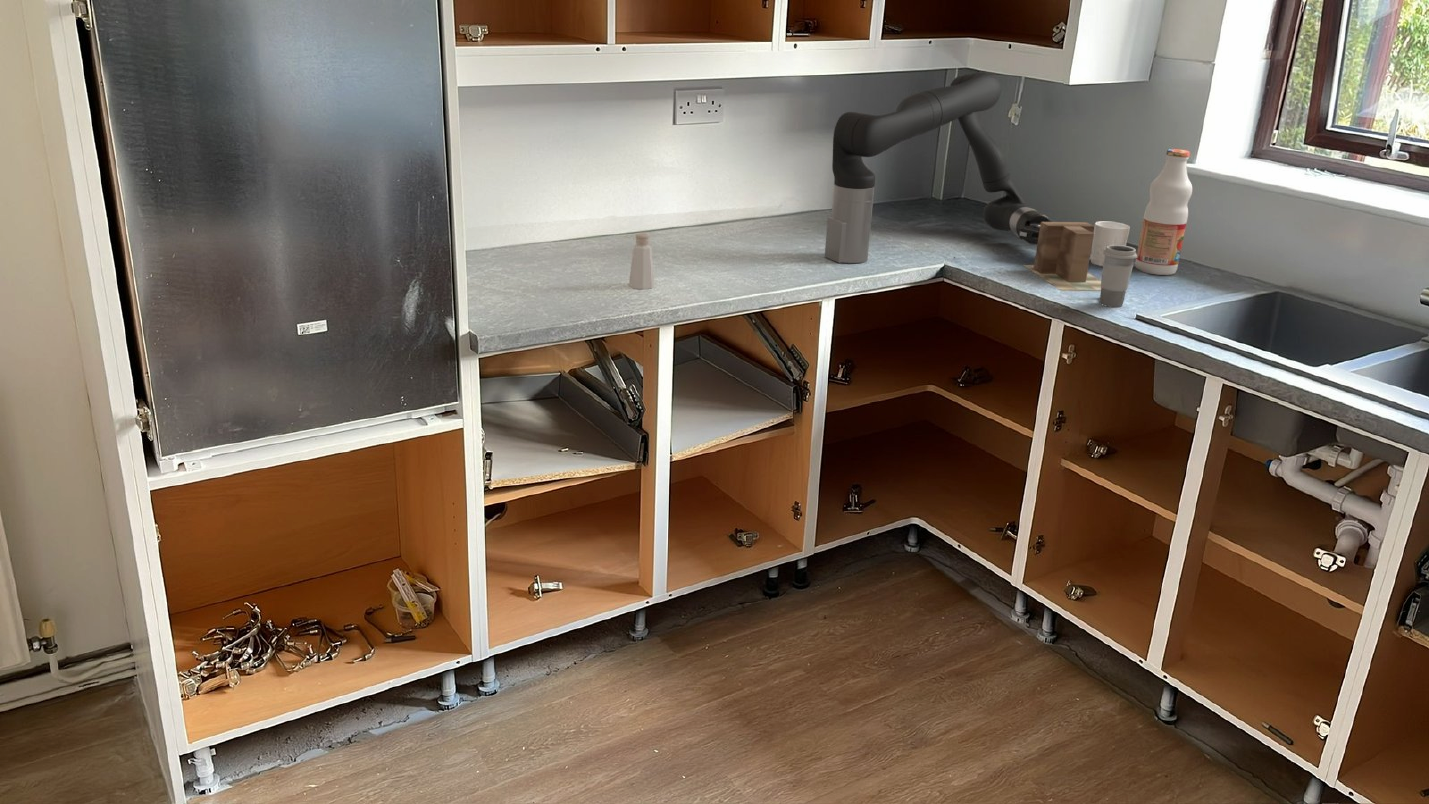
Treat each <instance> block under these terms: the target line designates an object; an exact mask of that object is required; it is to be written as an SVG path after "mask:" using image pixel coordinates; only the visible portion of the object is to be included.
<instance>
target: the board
mask: <svg viewBox="0 0 1429 804" xmlns="http://www.w3.org/2000/svg"><path fill="white" fill-rule="evenodd" d="M1023 266H1024V267H1025V268H1026V269H1028V270H1030V271H1031V272H1033V273H1034V274H1035V275H1036V276H1038V277H1040V278H1041V279H1043V280H1044V281H1046V282H1047V283H1049V284H1051V285H1052V286H1053V287H1055V288H1056V289H1058V290H1059V291H1061V292H1101V279H1099V278H1097V277H1096V276H1094V275H1093V274H1091V273H1090V272H1087V277H1086V282H1067V281H1066V280H1064V279H1063V278H1061V277H1059V276H1058V275H1056V274H1040V273H1039V272H1037V271H1036V270H1034V264H1027V265H1026V264H1023Z"/></svg>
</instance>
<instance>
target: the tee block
mask: <svg viewBox="0 0 1429 804" xmlns="http://www.w3.org/2000/svg"><path fill="white" fill-rule="evenodd" d="M1094 227H1095V225H1093V224H1091V223H1089V222H1084V221H1083V222H1081V221H1080V222H1078V221H1074V222H1073V221H1051V222H1041V225H1040V231H1039V238H1038V244H1037V246H1036V249H1035V250H1036V252H1035V258H1034V264H1033V265H1034V270H1036V271H1037V272H1039V273H1040V274H1056V275H1058V276H1059V277H1061V278H1063V279H1064V280H1066V281H1067V282H1086V277H1087V272H1088V271H1089V265H1090V261H1091V255H1092V254H1091V252H1092V244H1093V237H1094ZM1088 273H1089V272H1088Z"/></svg>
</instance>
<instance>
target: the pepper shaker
mask: <svg viewBox="0 0 1429 804" xmlns="http://www.w3.org/2000/svg"><path fill="white" fill-rule="evenodd" d="M635 238H636V239H635V243H636V244H635V245H634V246H633V248H632V256H631V263H630V270H629V271H630V273H629V279H628V280H629V281H628V282H629V283H628V286H629V287H630V288H632V289H634V290H649V289H652V288H654V287H655V286H656V285H655V283H656V282H655V274H654V272H655V271H654V263H653V261H654V260H653V249H652V246H651V245H650V244H649V243H650V234H648V233H646V232H638V233H636V234H635Z"/></svg>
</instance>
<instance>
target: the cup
mask: <svg viewBox="0 0 1429 804" xmlns="http://www.w3.org/2000/svg"><path fill="white" fill-rule="evenodd" d="M1103 254H1104V255H1105V260H1104V262H1103V266H1102V271H1101V272H1102V273H1101V279H1100V280H1101V291H1100V294H1099V304H1100V303H1101V304H1100V305H1102V304H1103V305H1102V306H1104V305H1106V306H1105V307H1109V306H1111V307H1110V308H1121V307H1122V306H1123V304H1124V300H1125V296H1126V292H1127V291H1128V287H1129V284H1130V280H1131V277H1132V276H1131V275H1132V271H1133V267H1134V262H1135V259H1136V258H1137V250H1136V248H1134V247H1132V246H1128V245H1126V246H1124V245H1108V246H1107V247H1106V249H1105V250H1104V252H1103Z"/></svg>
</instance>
